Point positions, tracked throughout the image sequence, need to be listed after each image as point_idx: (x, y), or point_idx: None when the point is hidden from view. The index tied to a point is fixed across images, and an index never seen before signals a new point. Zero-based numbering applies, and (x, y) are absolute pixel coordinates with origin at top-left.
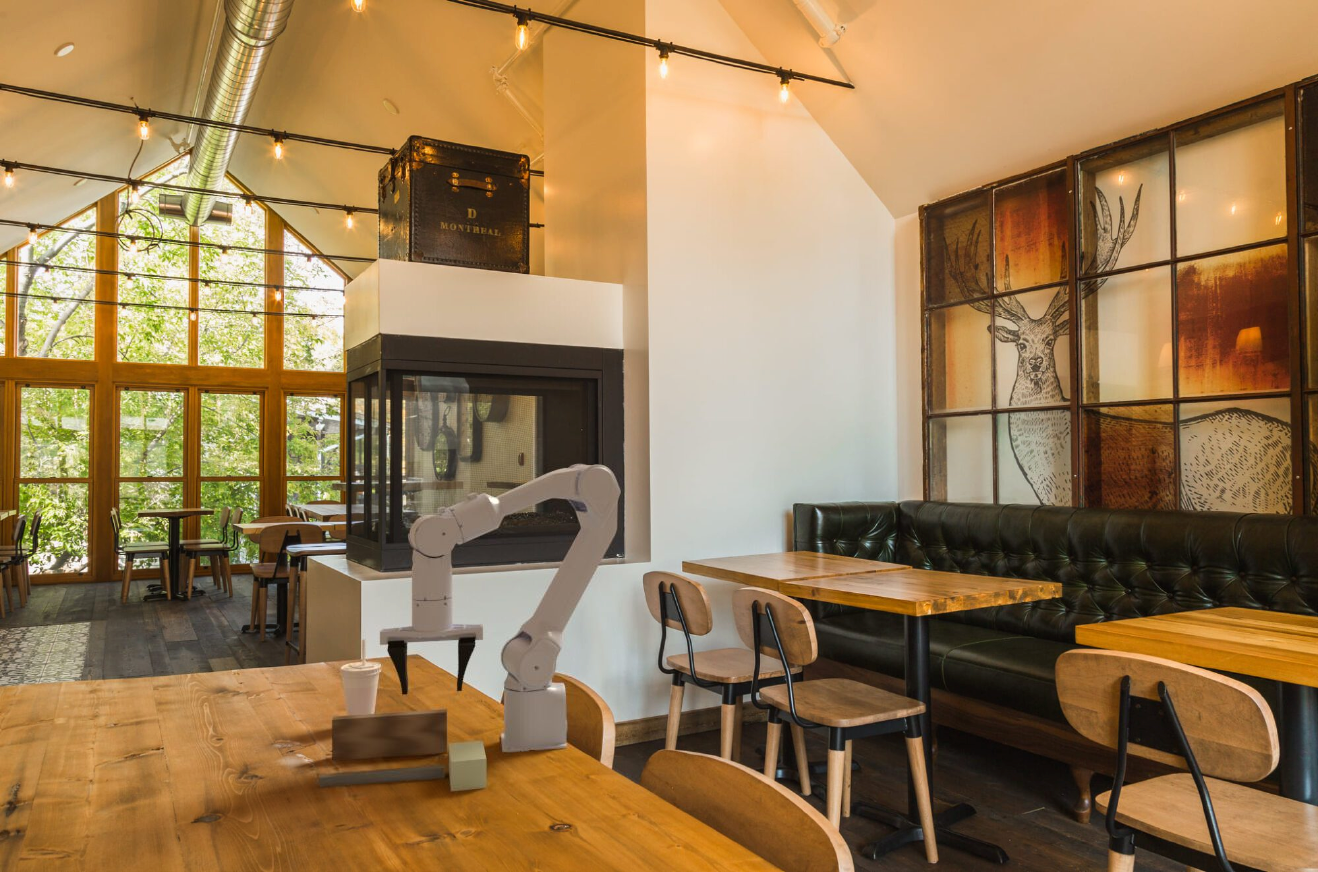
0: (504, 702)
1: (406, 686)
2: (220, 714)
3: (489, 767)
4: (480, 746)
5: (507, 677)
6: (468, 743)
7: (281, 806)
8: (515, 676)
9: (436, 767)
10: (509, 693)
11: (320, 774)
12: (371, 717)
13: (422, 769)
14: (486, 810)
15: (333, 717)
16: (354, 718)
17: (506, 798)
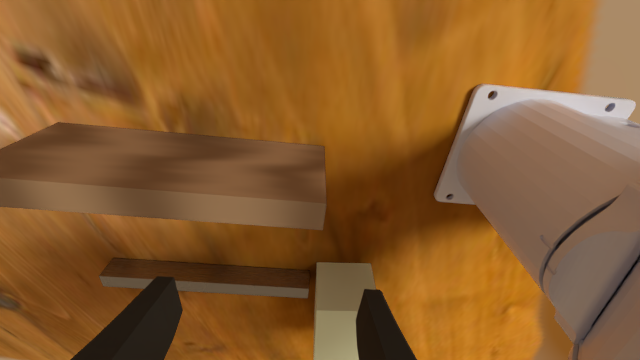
0: (513, 216)
1: (168, 345)
2: None
3: (386, 251)
4: None
5: (613, 239)
6: (352, 317)
7: (86, 294)
8: (590, 352)
9: (294, 294)
10: (533, 276)
11: (99, 276)
12: (94, 212)
13: (272, 295)
14: None
15: None
16: (40, 208)
17: None
